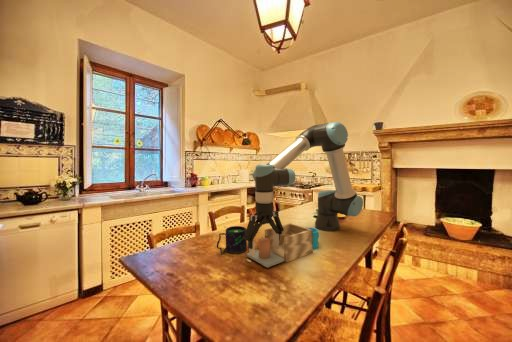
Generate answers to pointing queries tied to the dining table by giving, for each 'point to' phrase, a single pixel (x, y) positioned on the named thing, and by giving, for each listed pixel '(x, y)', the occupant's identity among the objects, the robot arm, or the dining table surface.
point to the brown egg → (264, 248)
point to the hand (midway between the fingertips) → (264, 251)
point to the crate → (292, 241)
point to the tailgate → (269, 261)
